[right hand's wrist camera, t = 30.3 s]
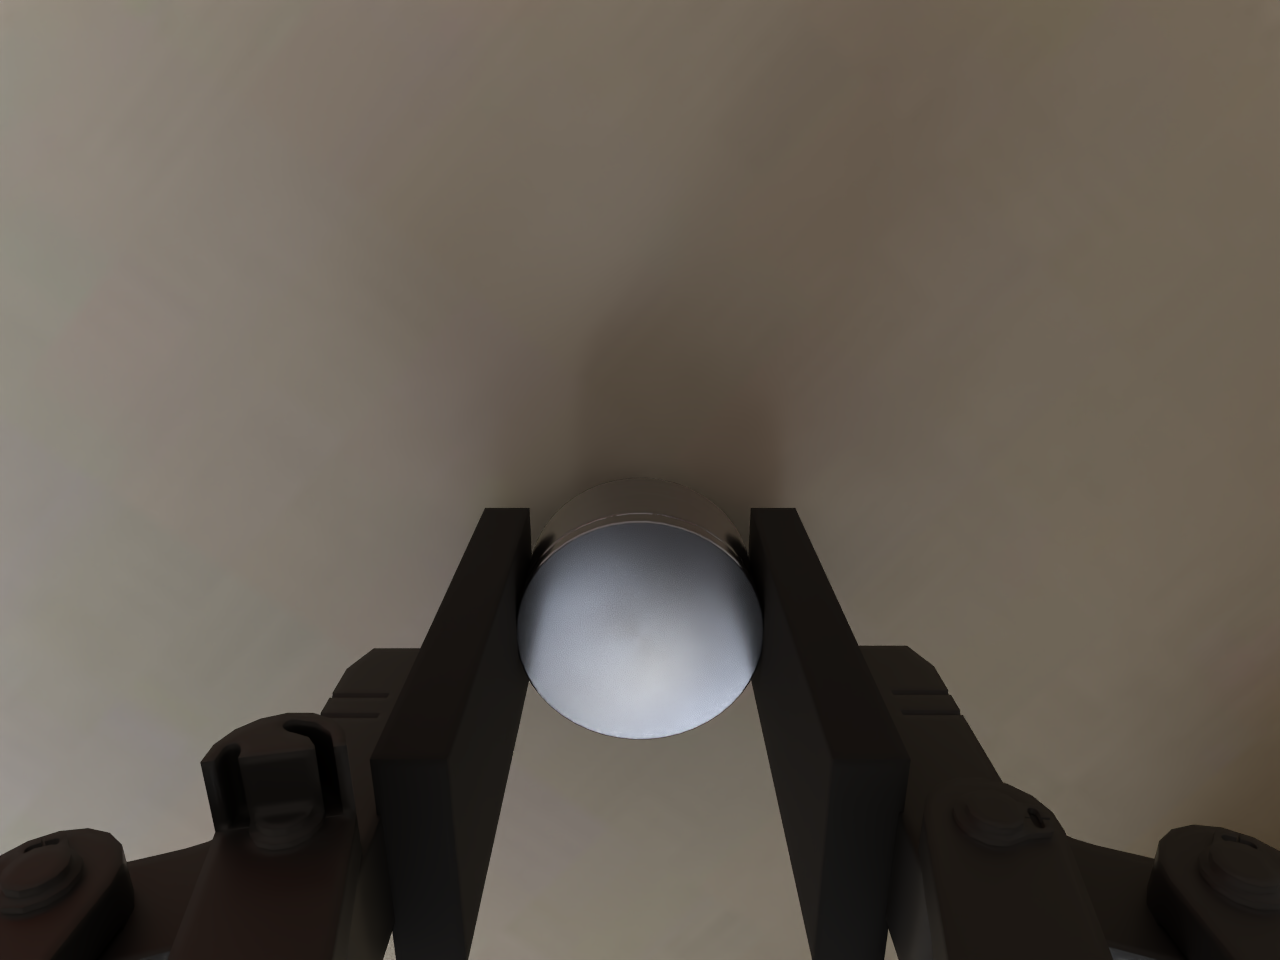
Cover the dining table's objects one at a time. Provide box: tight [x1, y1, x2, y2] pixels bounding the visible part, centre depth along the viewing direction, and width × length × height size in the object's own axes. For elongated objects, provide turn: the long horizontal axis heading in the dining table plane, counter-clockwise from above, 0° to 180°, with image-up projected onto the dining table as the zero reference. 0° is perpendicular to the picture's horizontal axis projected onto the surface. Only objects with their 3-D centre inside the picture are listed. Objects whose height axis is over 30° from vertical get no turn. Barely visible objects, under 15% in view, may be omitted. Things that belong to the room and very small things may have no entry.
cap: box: [516, 478, 764, 739], centre depth 14 cm, size 4×4×2 cm
